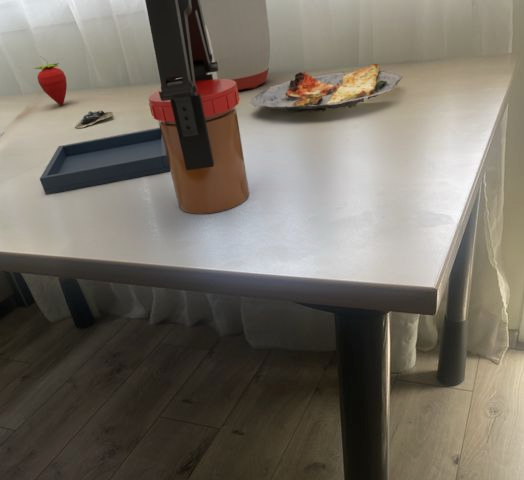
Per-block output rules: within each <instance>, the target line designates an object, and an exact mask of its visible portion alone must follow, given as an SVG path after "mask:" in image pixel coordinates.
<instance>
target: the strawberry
mask: <svg viewBox="0 0 524 480" xmlns="http://www.w3.org/2000/svg"><path fill="white" fill-rule="evenodd" d="M39 57H40V58H42V59H43V60H45V61H46V59H45V57H42V56H41V55H40V56H39ZM59 64H60V63H59V62H58V63H57V62H56V63H49V62H48V61H46V65H41V66H38V67H34V69H35V70H41V71H39V72H38V74H37V83H38V84H39V86H40V88H41V89H42V91H43V92H44V93H45V94H46V95H47V96H48V97H49V98H50V99H52V100H53V101H54V102H55V103H56V104H57V105H59V106H64V104H65V99H66V95H67V88H68V85H67V76H66V75H65V72H64V70H62V69H60V68H59V67H58V66H59Z"/></svg>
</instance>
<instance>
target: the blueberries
mask: <svg viewBox="0 0 524 480" xmlns="http://www.w3.org/2000/svg"><path fill="white" fill-rule="evenodd" d="M113 117H114V112H113V111H107V112H106V111H104V110H96V111H95V110H94V111H91V110H90V111H88V112H87V114H84V115H83V117H82V119H80V120H79V121H78V122H77V123H76V125H75V126H74V127H75V128H76V129H82V128H85V127H87V126H91V125H94V124H96V123H97V122H98V121H102V120H105V119H107V120H108V119H111V118H113Z"/></svg>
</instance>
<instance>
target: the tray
mask: <svg viewBox="0 0 524 480" xmlns="http://www.w3.org/2000/svg"><path fill="white" fill-rule="evenodd" d="M167 172H170V167H169V163H168V159H167V155H166V151H165V147H164V143H163V138H162V134H161V130H160V127H154V128H150V129H145V130H139V131H133V132H129V133H123V134H117V135H111V136H107V137H101V138H95V139H90V140H86V141H79V142H74V143H68V144H64V145H63V144H62V145H59V146H58V147H57V149H56V150H55V152H54V153H53V154H52V157H51V158H50V160H49V161H48V164H47V165H46V166H45V169H44V171H43V172H42V174H41V176H40V177H39V181H40V185H41V186H42V189H43V192H44V194H45V195H50V194H57V193H61V192H66V191H71V190H76V189H82V188H88V187H94V186H97V185H98V186H99V185H103V184H109V183H115V182H119V181H120V182H121V181H124V180H129V179H130V180H131V179H135V178H141V177H146V176H151V175H156V174H162V173H167Z"/></svg>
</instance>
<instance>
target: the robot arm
mask: <svg viewBox="0 0 524 480" xmlns="http://www.w3.org/2000/svg"><path fill="white" fill-rule="evenodd" d="M144 2H145V7H146V12H147V18H148V23H149V28H150V33H151V39H152V44H153V49H154V54H155V60H156V65H157V69H158V70H157V71H158V75H159V76H158V77H159V83H160V90H161V91H162V92H159V95H160V98H161V101H167V100H170V101H171V105H172V110H173V114H174V118H175V123H176V127H177V131H178V136H179V140H180V144H181V149H182V153H183V158H184V162H185V166H186V170H192V169H200V168H207V167H213V166H214V161H213V156H212V151H211V146H210V141H209V136H208V131H207V126H206V121H205V116H204V111H203V106H202V100H201V95H200V94H197V86H196V83H195V81H201V80H211V79H213V76H212V74H209V75H208V73H211V72H217V71H218V64H217V62H212V59H213V57H212V54H211V52H210V47H209V42H208V37H207V32H206V28H205V23H204V18H203V13H202V8H201V4H200V0H144ZM176 78H180V79H176Z"/></svg>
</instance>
